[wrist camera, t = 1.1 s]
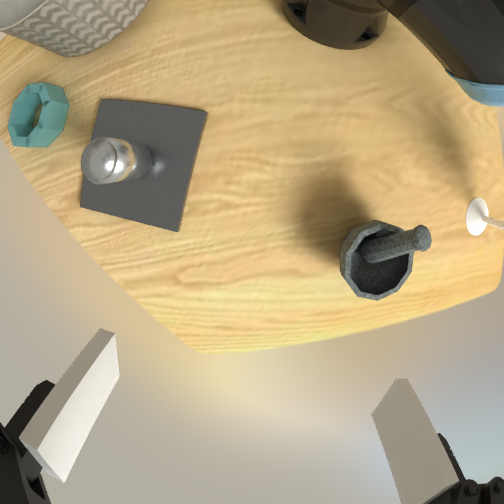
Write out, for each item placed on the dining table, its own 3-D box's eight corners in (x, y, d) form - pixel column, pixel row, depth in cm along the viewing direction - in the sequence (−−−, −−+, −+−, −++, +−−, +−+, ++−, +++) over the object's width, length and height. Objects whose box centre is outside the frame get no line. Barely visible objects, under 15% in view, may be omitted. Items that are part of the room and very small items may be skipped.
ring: (36, 89, 29) (18, 85, 24) (74, 87, 30) (56, 81, 25) (23, 144, 32) (4, 145, 27) (59, 148, 32) (39, 148, 28)
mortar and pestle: (364, 290, 39) (398, 333, 27) (316, 259, 37) (340, 298, 26) (406, 228, 36) (455, 252, 24) (361, 191, 34) (405, 203, 23)
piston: (104, 100, 31) (61, 85, 20) (208, 113, 32) (189, 91, 21) (83, 205, 35) (37, 220, 25) (179, 230, 36) (151, 255, 26)
